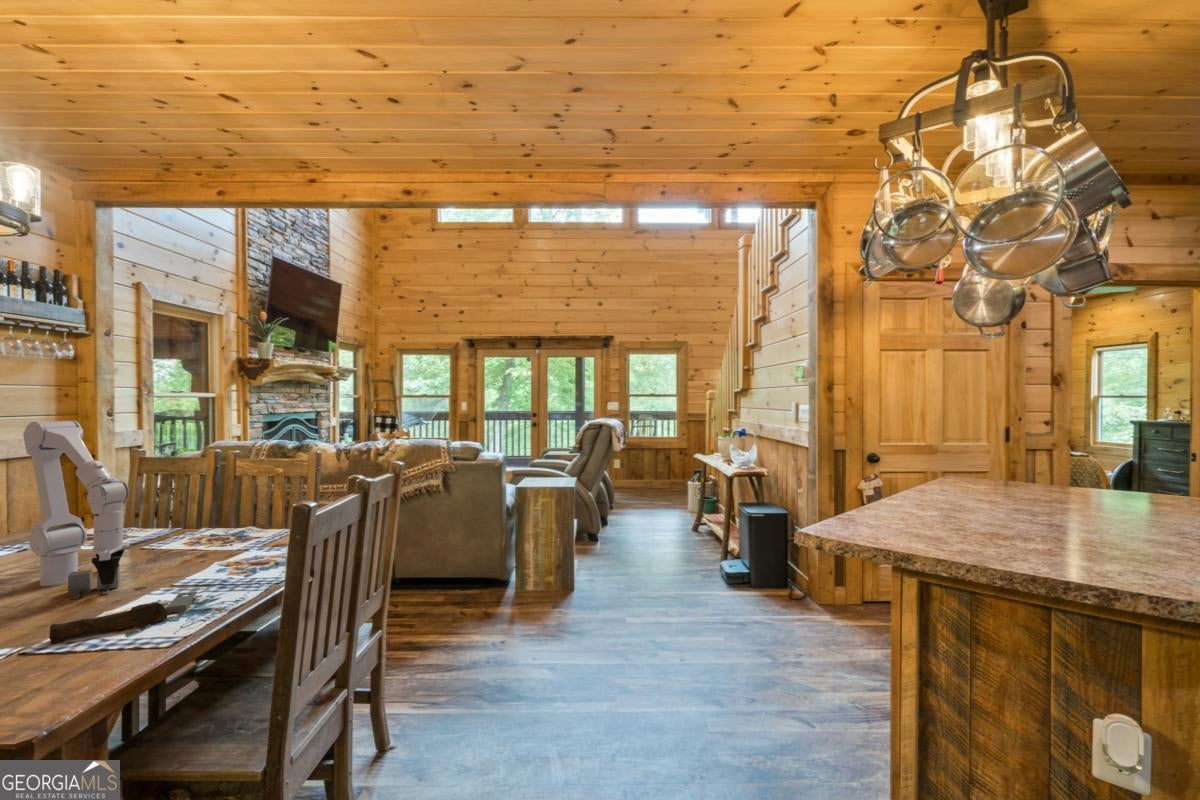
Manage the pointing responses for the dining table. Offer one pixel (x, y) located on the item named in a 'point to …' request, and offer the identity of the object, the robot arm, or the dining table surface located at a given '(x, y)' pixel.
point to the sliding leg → (108, 586)
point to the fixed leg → (79, 583)
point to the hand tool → (109, 622)
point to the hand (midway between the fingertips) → (108, 581)
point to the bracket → (181, 602)
